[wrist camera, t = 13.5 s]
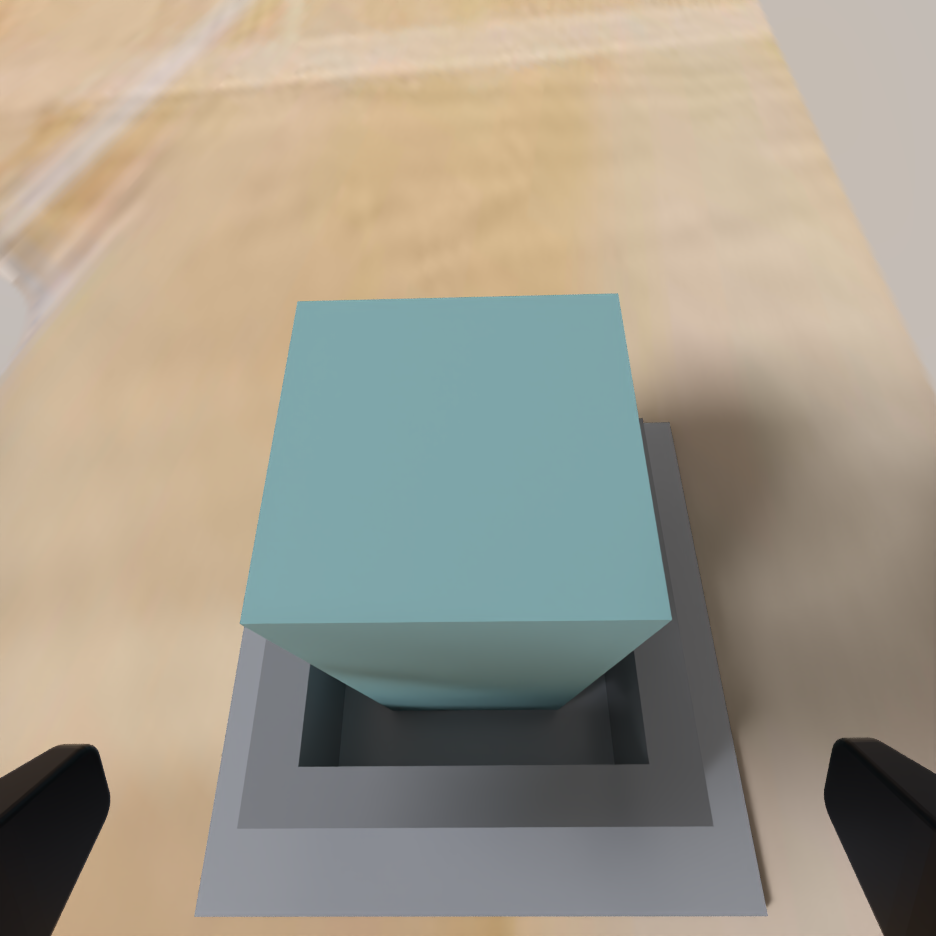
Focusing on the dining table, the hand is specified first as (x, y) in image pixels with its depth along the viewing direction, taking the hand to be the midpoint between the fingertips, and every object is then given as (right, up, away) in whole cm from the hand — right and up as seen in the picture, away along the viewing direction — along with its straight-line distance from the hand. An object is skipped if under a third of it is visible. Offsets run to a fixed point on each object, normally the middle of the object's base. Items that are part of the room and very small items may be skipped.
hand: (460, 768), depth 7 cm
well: (0, -2, +12) cm, 12 cm away
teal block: (0, -1, +11) cm, 12 cm away
